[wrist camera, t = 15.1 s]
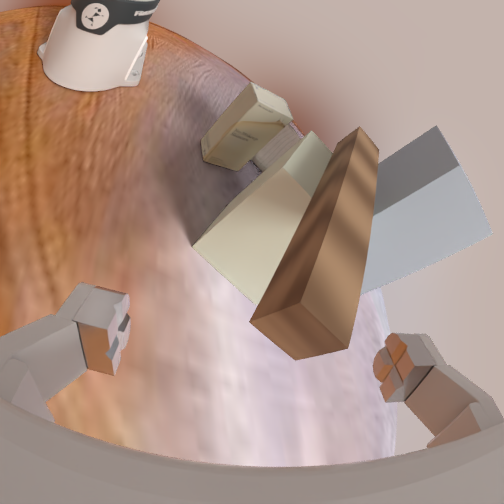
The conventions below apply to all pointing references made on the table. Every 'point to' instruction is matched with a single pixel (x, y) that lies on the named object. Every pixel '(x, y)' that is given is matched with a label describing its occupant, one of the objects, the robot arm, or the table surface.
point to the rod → (325, 258)
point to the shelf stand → (421, 211)
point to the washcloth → (276, 148)
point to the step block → (264, 218)
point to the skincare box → (245, 127)
